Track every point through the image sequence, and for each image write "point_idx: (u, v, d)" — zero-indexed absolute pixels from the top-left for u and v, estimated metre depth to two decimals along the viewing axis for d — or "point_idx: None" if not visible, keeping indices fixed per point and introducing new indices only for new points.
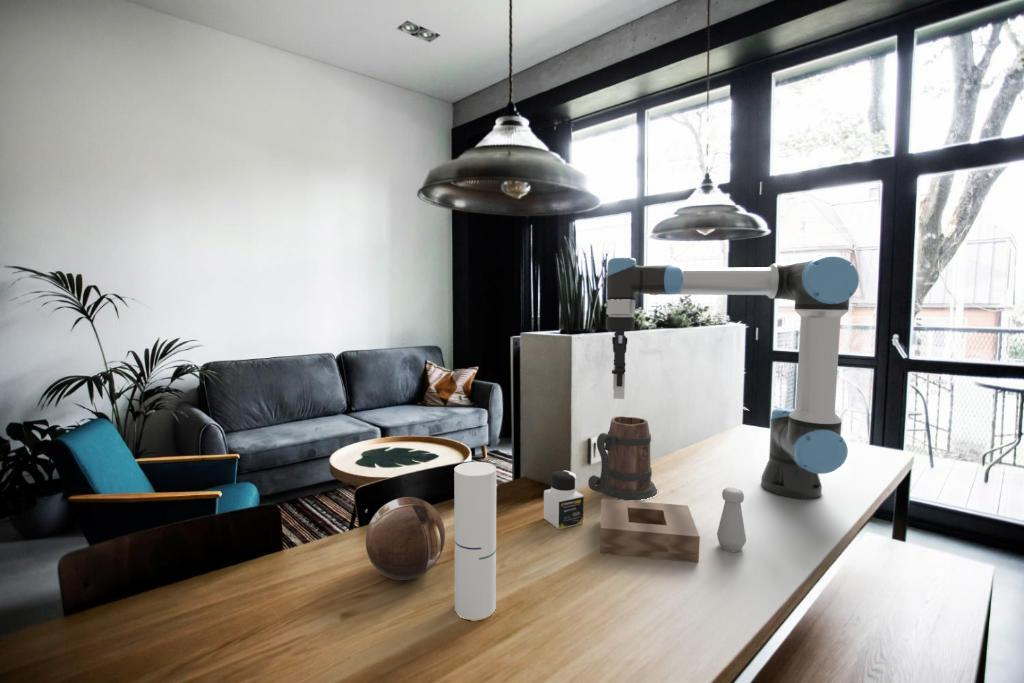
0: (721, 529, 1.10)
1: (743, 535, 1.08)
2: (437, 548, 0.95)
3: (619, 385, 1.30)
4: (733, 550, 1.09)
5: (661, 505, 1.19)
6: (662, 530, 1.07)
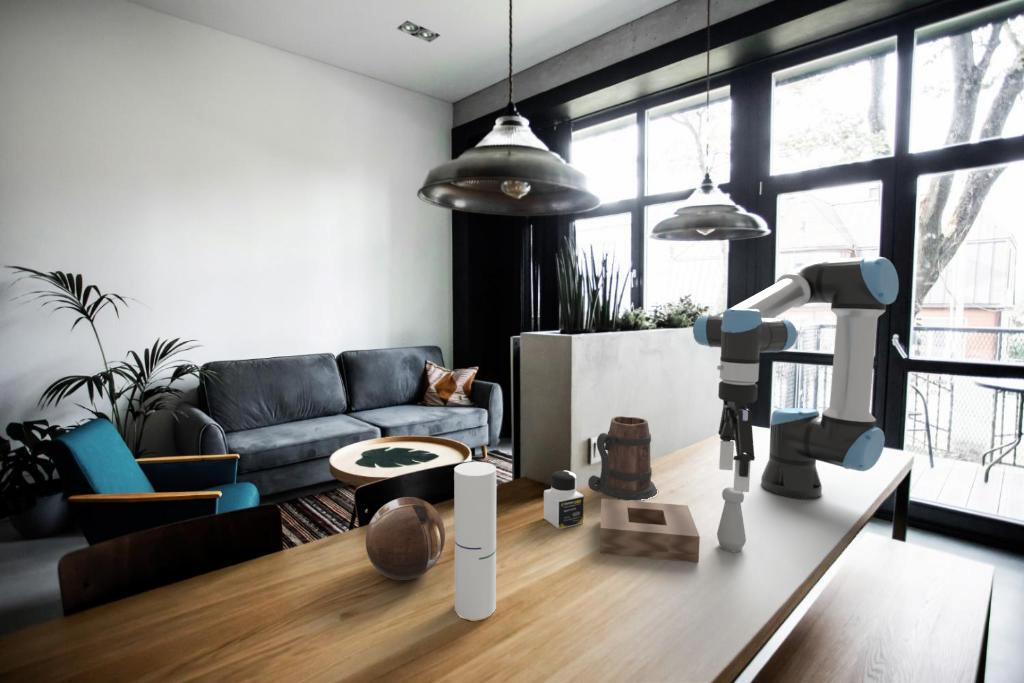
0: (721, 529, 1.10)
1: (743, 535, 1.08)
2: (437, 548, 0.95)
3: (744, 475, 1.01)
4: (733, 550, 1.09)
5: (661, 505, 1.19)
6: (662, 530, 1.07)
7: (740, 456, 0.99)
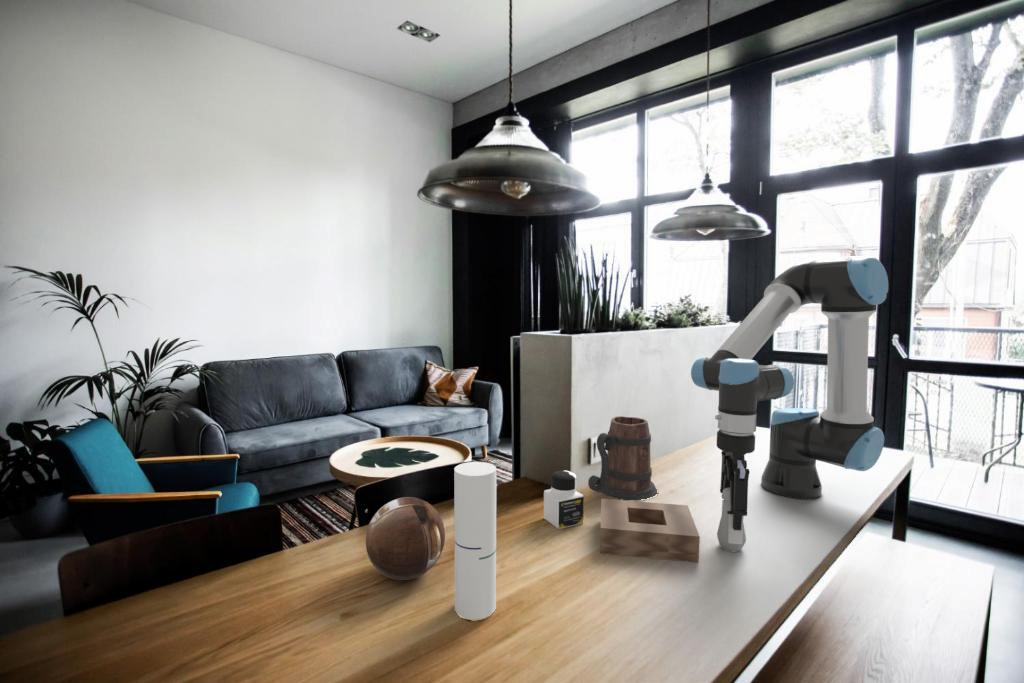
0: (721, 529, 1.10)
1: (743, 535, 1.08)
2: (437, 548, 0.95)
3: (737, 529, 1.06)
4: (733, 550, 1.09)
5: (661, 505, 1.19)
6: (662, 530, 1.07)
7: (733, 512, 1.04)
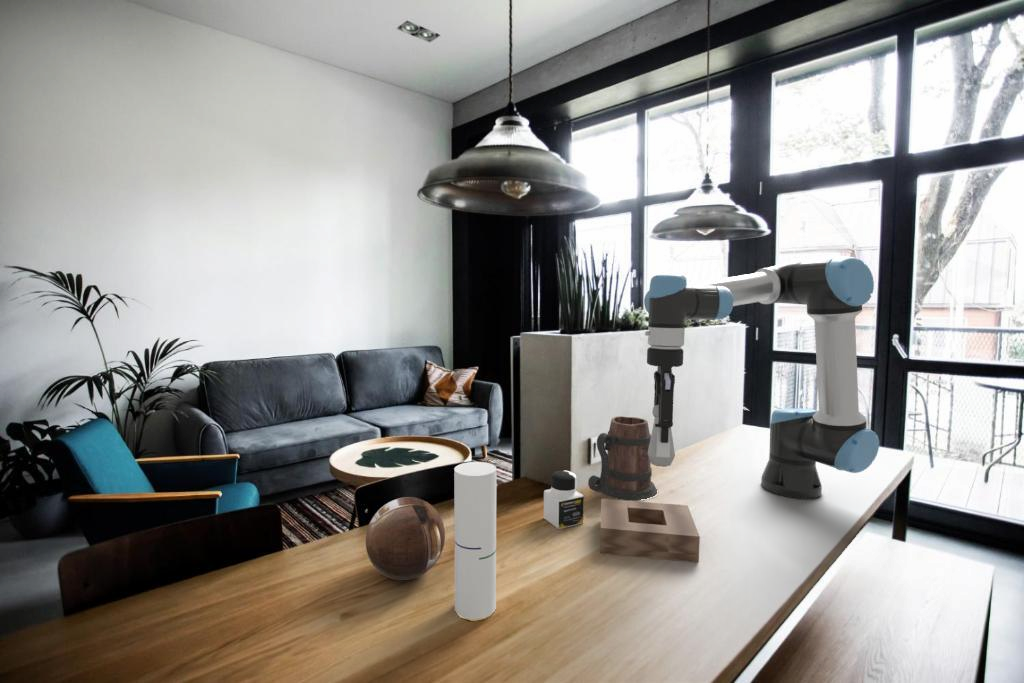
0: (651, 445, 1.11)
1: (672, 450, 1.09)
2: (437, 548, 0.95)
3: (664, 441, 1.07)
4: (662, 465, 1.10)
5: (661, 505, 1.19)
6: (662, 530, 1.07)
7: (659, 423, 1.05)
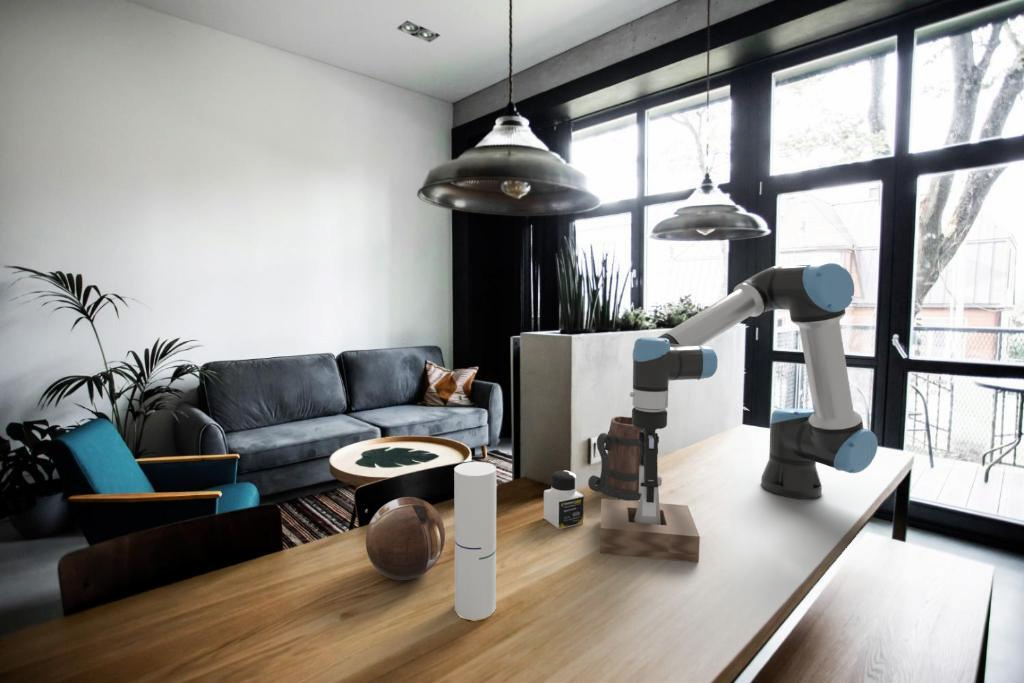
0: (638, 512, 1.13)
1: (658, 519, 1.12)
2: (437, 548, 0.95)
3: (650, 501, 1.05)
4: None
5: (661, 505, 1.19)
6: (662, 530, 1.07)
7: (645, 483, 1.04)
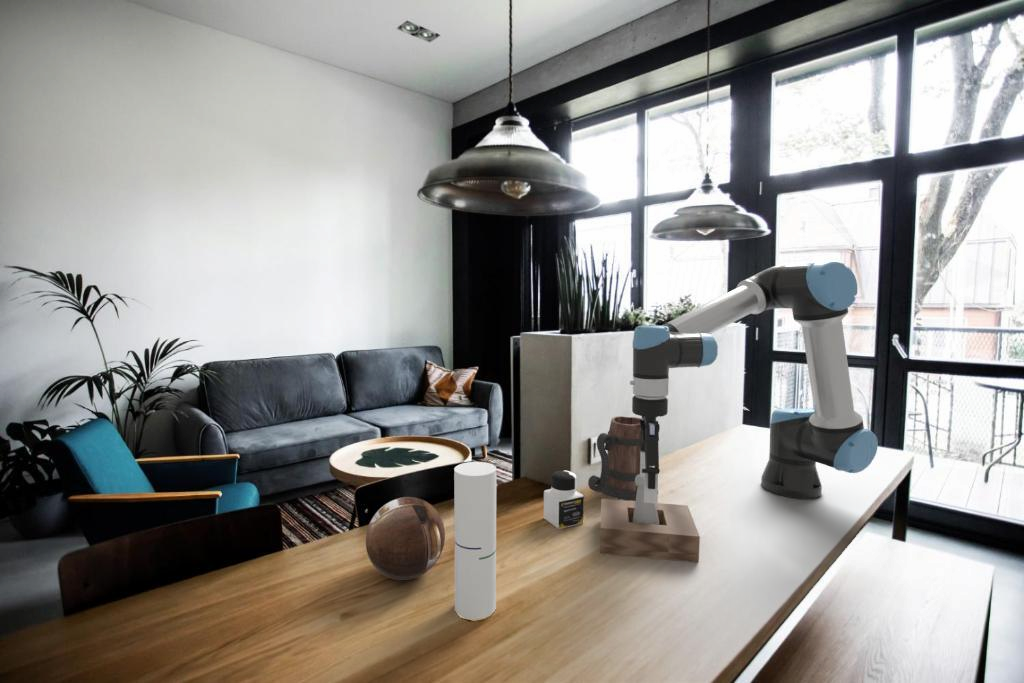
0: (635, 514, 1.13)
1: (655, 519, 1.12)
2: (437, 548, 0.95)
3: (651, 487, 1.05)
4: None
5: (661, 505, 1.19)
6: (662, 530, 1.07)
7: (646, 469, 1.03)
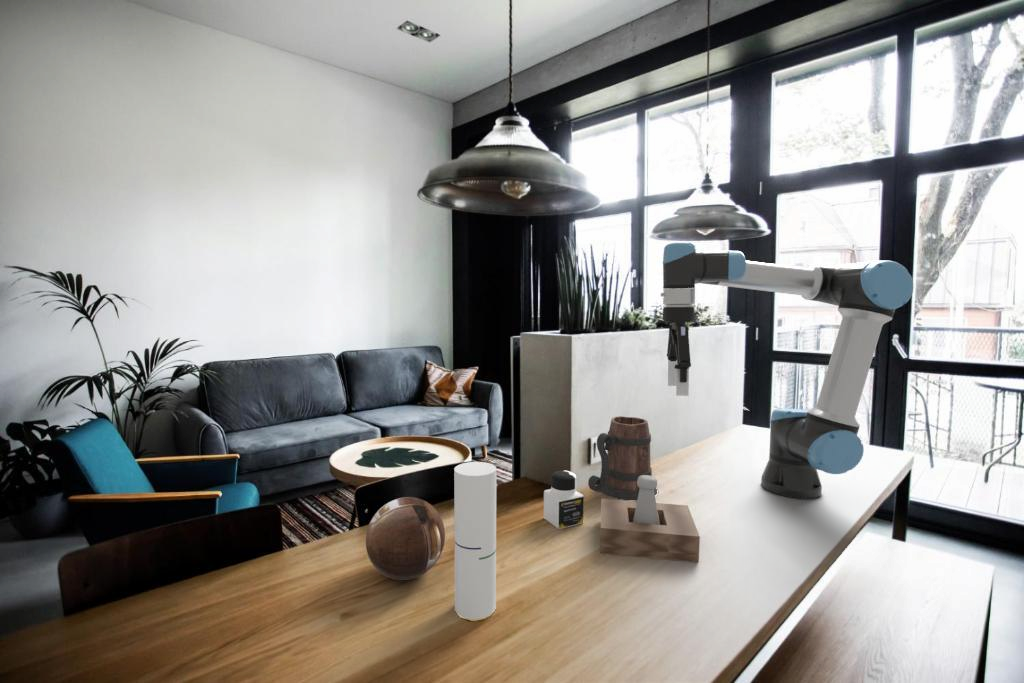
0: (635, 515, 1.13)
1: (656, 521, 1.12)
2: (437, 548, 0.95)
3: (683, 381, 1.20)
4: None
5: (661, 505, 1.19)
6: (662, 530, 1.07)
7: (679, 364, 1.18)
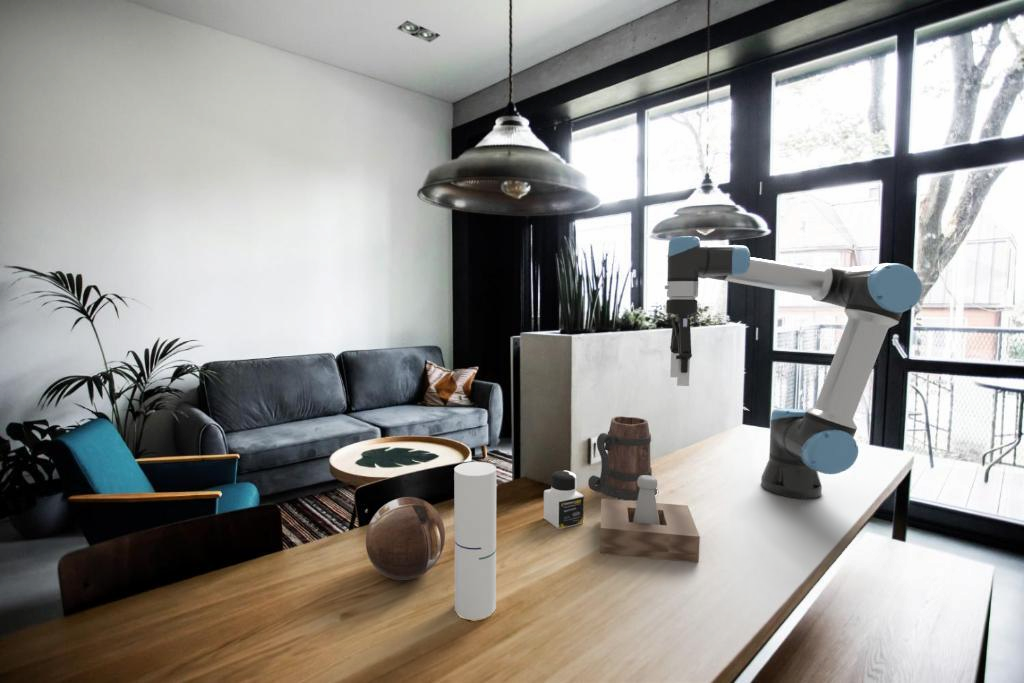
0: (635, 515, 1.13)
1: (656, 521, 1.12)
2: (437, 548, 0.95)
3: (684, 371, 1.23)
4: None
5: (661, 505, 1.19)
6: (662, 530, 1.07)
7: (680, 354, 1.21)
